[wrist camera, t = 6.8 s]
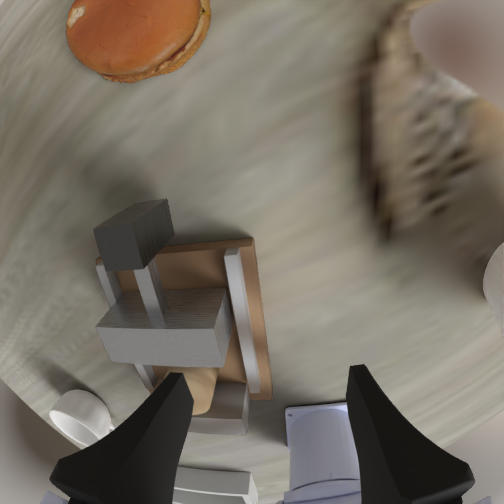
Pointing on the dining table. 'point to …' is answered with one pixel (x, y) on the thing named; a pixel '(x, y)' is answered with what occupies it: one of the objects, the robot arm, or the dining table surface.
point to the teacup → (82, 416)
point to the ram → (158, 298)
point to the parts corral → (213, 487)
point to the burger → (136, 35)
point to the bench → (243, 331)
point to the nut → (199, 385)
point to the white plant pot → (495, 285)
